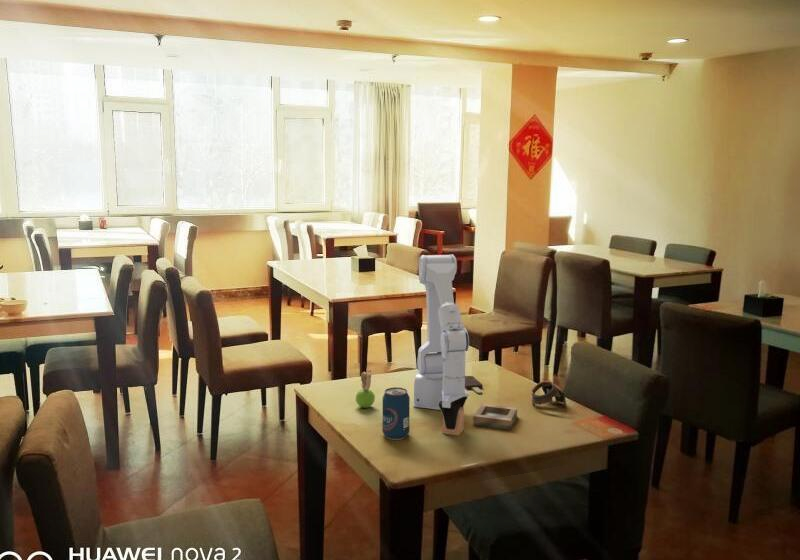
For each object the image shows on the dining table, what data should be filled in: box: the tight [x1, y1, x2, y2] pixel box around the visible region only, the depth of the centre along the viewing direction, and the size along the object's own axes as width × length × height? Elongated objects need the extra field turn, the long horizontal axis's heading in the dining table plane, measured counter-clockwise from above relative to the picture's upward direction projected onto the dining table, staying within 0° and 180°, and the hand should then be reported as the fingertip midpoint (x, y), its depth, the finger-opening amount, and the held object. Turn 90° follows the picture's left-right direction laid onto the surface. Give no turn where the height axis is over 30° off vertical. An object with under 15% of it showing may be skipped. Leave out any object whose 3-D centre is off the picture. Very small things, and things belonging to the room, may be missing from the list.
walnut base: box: [472, 403, 518, 431], centre depth 183 cm, size 10×10×2 cm
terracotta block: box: [441, 406, 465, 436], centre depth 176 cm, size 4×4×6 cm
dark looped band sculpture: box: [531, 379, 568, 409], centre depth 196 cm, size 12×10×8 cm
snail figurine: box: [355, 369, 376, 409], centre depth 192 cm, size 5×6×12 cm
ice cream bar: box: [465, 375, 484, 394], centre depth 212 cm, size 5×2×15 cm
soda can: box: [381, 386, 411, 441], centre depth 172 cm, size 7×7×12 cm
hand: (453, 425), depth 176 cm, fingers closed on terracotta block, 4 cm apart
